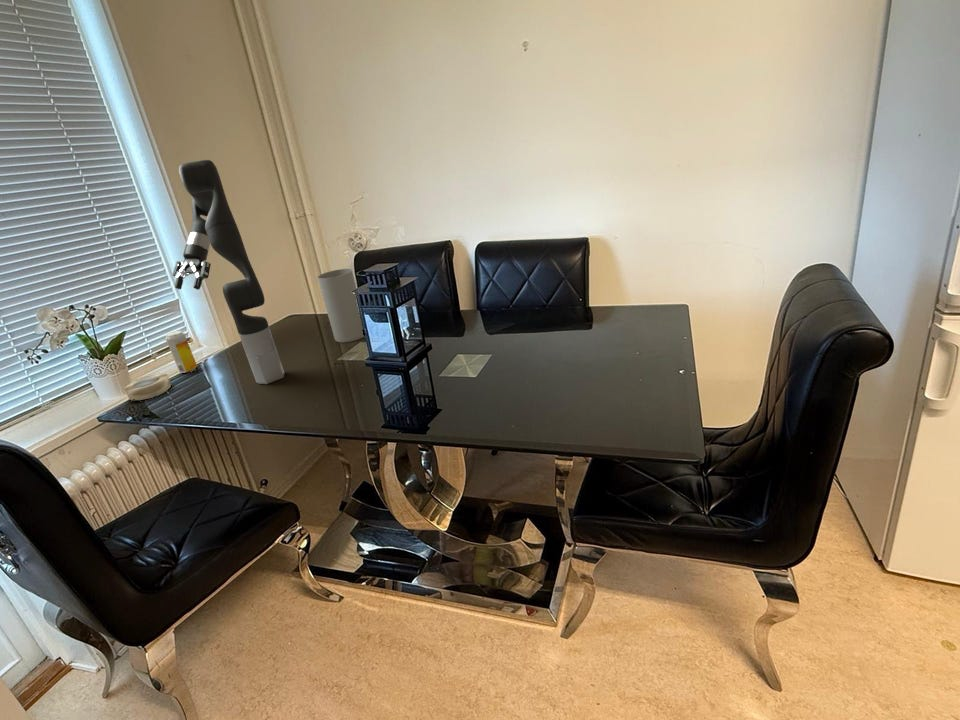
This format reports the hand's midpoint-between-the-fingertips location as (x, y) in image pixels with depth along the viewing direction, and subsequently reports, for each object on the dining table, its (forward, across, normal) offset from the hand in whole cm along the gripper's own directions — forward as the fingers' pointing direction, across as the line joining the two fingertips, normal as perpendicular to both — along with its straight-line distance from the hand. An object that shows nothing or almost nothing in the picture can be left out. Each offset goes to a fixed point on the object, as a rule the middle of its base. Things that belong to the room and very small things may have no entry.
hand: (187, 288), depth 188 cm
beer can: (+29, 0, +10) cm, 30 cm away
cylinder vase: (+8, +52, +30) cm, 61 cm away
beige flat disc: (+39, -1, -3) cm, 39 cm away
